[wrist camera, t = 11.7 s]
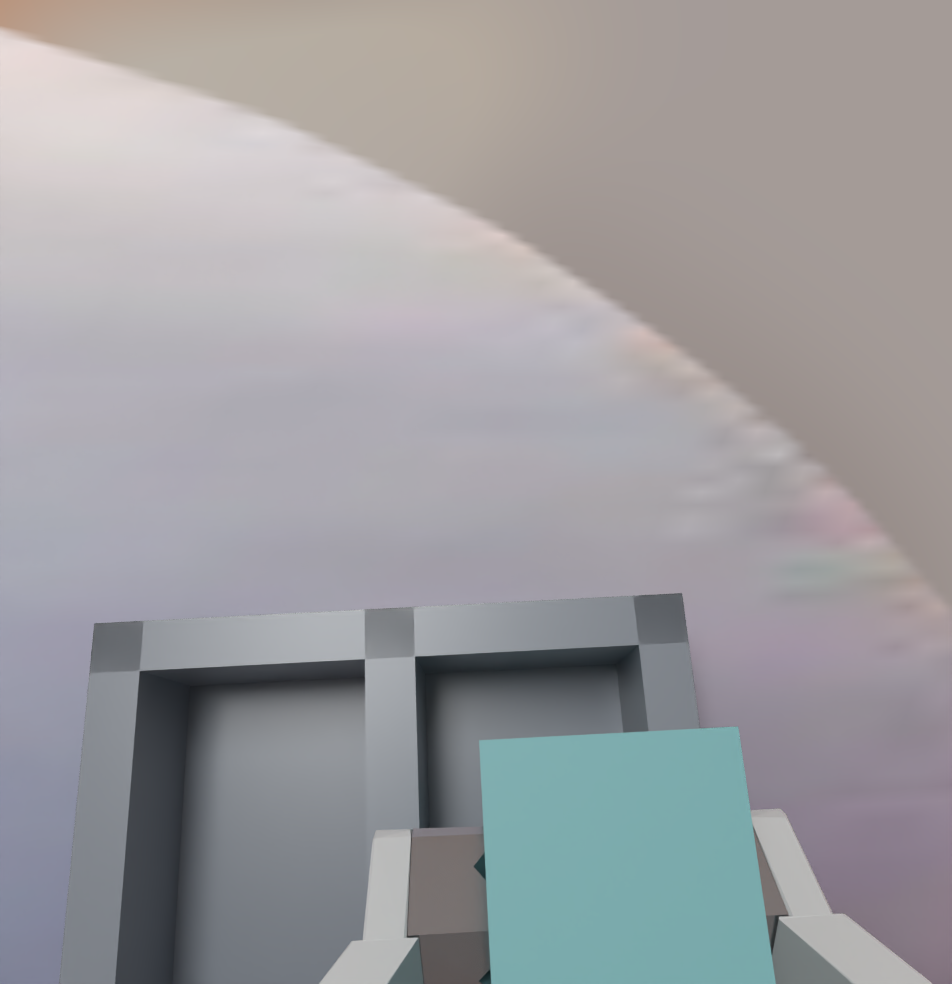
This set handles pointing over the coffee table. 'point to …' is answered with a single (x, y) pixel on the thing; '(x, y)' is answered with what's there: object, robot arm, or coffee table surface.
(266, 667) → the box
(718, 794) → the teal block
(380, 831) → the robot arm
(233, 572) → the coffee table surface
